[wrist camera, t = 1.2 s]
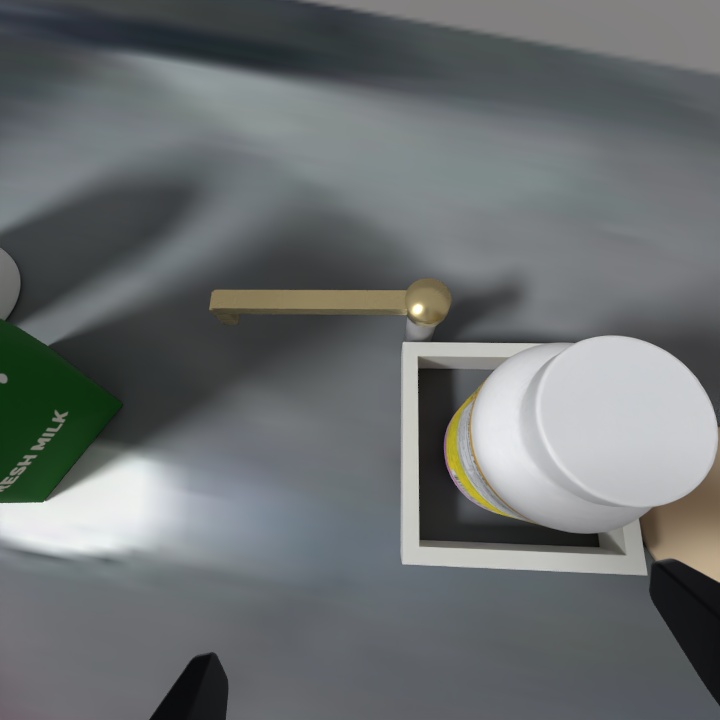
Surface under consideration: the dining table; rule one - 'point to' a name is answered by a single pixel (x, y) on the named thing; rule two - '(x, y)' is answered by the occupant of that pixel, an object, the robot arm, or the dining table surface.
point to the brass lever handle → (338, 302)
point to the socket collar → (612, 557)
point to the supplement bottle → (583, 435)
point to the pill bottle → (8, 284)
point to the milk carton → (43, 416)
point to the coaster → (688, 526)
